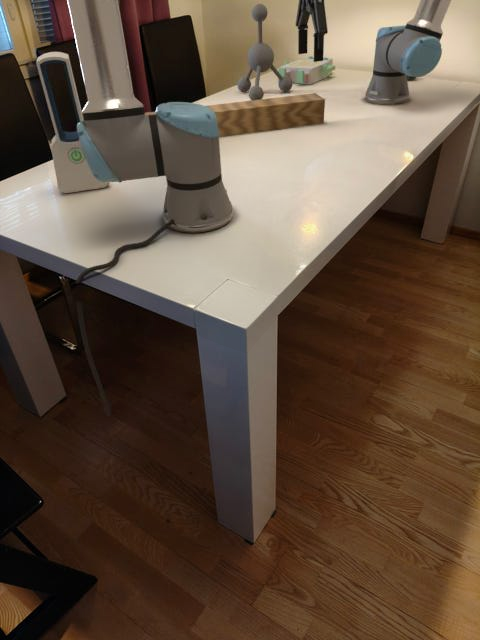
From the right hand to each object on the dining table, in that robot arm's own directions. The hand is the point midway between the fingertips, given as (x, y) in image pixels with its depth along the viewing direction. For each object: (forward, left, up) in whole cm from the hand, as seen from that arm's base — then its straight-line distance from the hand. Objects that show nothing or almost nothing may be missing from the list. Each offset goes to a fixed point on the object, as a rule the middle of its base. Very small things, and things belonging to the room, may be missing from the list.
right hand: (310, 57), depth 148 cm
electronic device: (+62, -47, -19) cm, 80 cm away
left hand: (+29, -50, 0) cm, 58 cm away
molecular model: (-32, -22, -19) cm, 43 cm away
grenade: (-61, +31, -19) cm, 71 cm away
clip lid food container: (-61, -12, -19) cm, 64 cm away
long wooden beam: (+15, -25, -19) cm, 35 cm away
